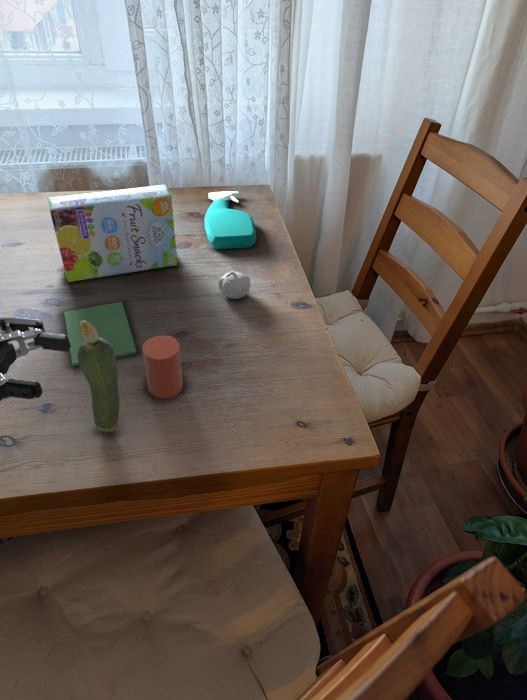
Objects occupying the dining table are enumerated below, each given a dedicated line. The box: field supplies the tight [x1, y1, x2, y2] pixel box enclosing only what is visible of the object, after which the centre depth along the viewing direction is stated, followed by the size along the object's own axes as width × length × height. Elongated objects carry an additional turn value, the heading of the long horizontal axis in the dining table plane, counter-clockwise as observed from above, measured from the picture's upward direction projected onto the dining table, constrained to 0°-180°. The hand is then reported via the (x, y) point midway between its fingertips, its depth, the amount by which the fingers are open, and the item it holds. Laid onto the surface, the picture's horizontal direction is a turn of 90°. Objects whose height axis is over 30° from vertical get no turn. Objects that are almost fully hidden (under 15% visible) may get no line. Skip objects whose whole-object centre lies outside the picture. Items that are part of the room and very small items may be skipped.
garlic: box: [217, 270, 252, 300], centre depth 96 cm, size 6×5×5 cm
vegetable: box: [78, 320, 121, 433], centre depth 66 cm, size 4×4×20 cm
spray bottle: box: [204, 190, 257, 250], centre depth 118 cm, size 3×11×24 cm
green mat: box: [63, 301, 138, 367], centre depth 88 cm, size 14×10×1 cm
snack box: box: [47, 184, 178, 283], centre depth 98 cm, size 21×6×15 cm, turn 110°
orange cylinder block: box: [141, 334, 184, 399], centre depth 77 cm, size 5×5×8 cm
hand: (55, 365), depth 66 cm, fingers open, 8 cm apart
